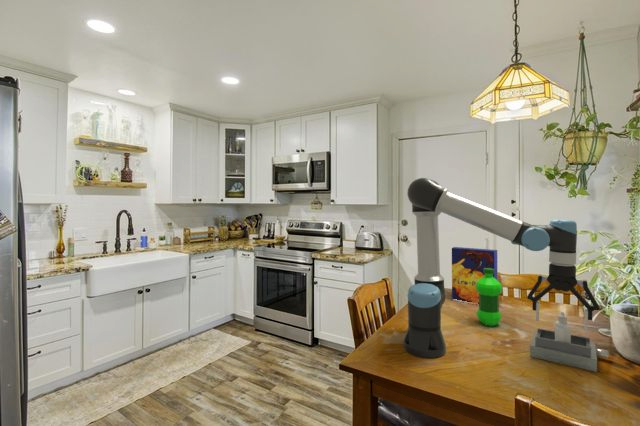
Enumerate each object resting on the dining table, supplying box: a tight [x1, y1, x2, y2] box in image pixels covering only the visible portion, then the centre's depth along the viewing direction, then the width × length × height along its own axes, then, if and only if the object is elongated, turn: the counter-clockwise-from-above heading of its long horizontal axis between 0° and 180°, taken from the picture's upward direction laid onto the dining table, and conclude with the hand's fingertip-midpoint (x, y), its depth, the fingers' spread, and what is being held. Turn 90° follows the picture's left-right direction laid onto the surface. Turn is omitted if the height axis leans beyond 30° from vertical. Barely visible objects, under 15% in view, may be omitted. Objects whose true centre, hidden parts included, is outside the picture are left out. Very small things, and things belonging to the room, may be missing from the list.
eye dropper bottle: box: [554, 311, 572, 343], centre depth 113 cm, size 4×6×12 cm
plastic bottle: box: [476, 268, 503, 327], centre depth 145 cm, size 10×10×25 cm
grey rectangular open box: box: [529, 328, 610, 373], centre depth 113 cm, size 16×22×7 cm
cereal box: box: [451, 246, 498, 304], centre depth 177 cm, size 22×6×30 cm, turn 47°
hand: (560, 324), depth 113 cm, fingers open, 13 cm apart
